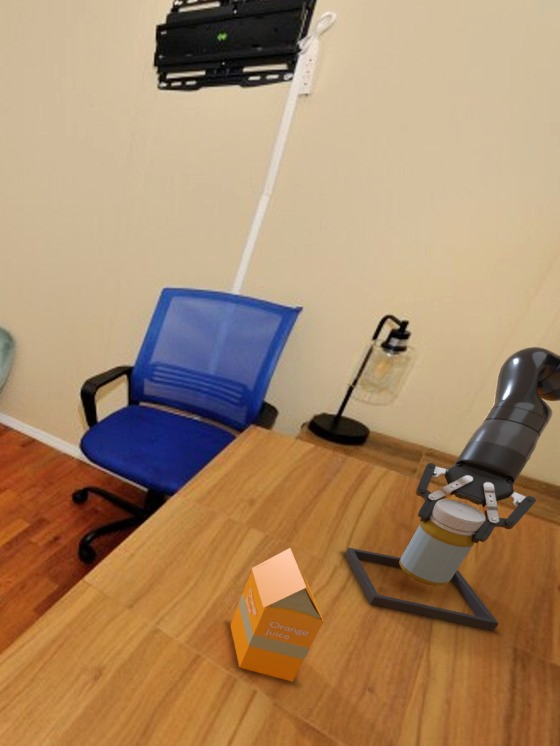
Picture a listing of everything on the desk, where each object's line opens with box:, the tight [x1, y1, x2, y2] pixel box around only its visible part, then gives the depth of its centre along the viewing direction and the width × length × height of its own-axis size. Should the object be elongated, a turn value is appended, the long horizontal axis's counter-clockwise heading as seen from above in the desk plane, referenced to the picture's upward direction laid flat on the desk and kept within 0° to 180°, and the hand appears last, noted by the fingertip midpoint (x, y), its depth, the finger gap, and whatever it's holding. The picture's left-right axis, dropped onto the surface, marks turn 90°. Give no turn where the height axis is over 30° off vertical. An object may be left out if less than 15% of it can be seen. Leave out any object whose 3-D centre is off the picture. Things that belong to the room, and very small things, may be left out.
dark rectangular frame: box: [344, 547, 499, 632], centre depth 96 cm, size 18×14×3 cm
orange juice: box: [230, 547, 325, 682], centre depth 81 cm, size 8×9×20 cm
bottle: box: [399, 498, 485, 587], centre depth 91 cm, size 7×7×15 cm
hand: (448, 530), depth 88 cm, fingers closed on bottle, 6 cm apart
